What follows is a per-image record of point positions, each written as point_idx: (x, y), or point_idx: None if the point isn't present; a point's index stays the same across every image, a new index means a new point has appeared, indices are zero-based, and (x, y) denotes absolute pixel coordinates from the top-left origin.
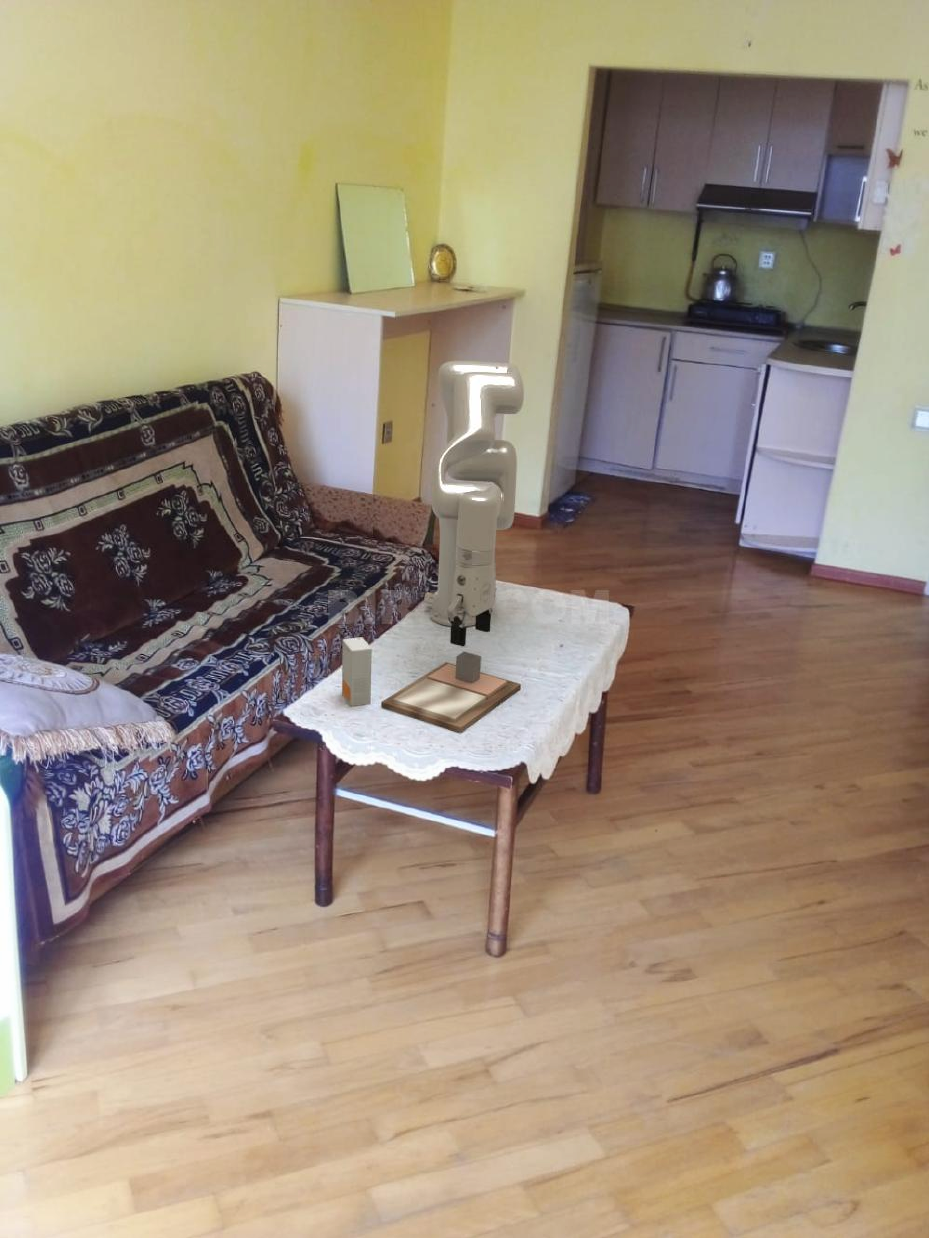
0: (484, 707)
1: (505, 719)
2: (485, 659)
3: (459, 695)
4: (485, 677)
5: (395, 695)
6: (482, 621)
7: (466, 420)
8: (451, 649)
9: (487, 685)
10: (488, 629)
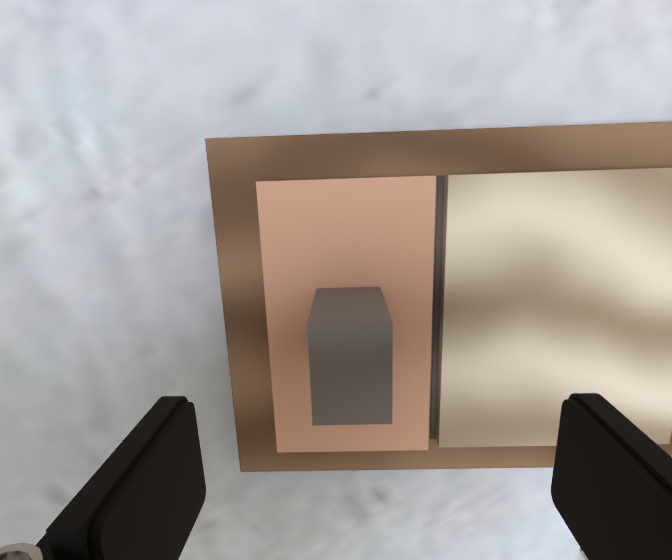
0: (510, 142)
1: (503, 37)
2: (86, 389)
3: (504, 271)
4: (289, 275)
5: None
6: (163, 510)
7: None
8: None
9: (353, 226)
10: (173, 410)
